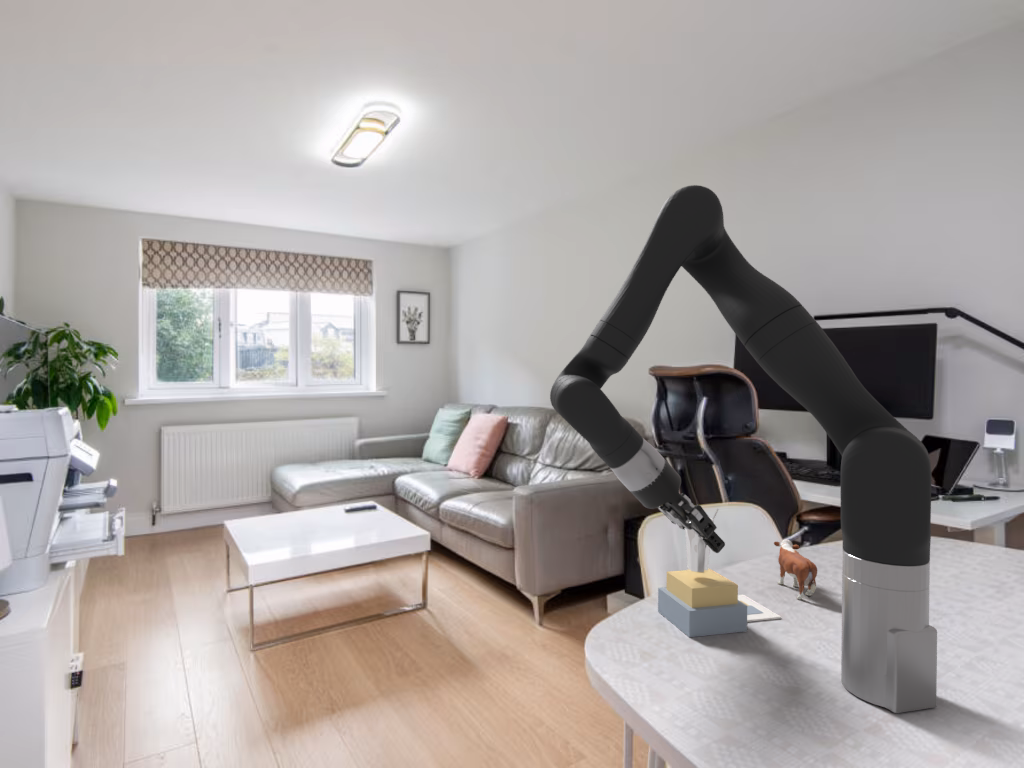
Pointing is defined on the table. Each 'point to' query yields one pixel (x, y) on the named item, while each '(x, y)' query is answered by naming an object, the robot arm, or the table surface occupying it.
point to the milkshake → (697, 551)
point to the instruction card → (757, 610)
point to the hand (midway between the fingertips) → (711, 543)
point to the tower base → (702, 616)
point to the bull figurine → (796, 568)
